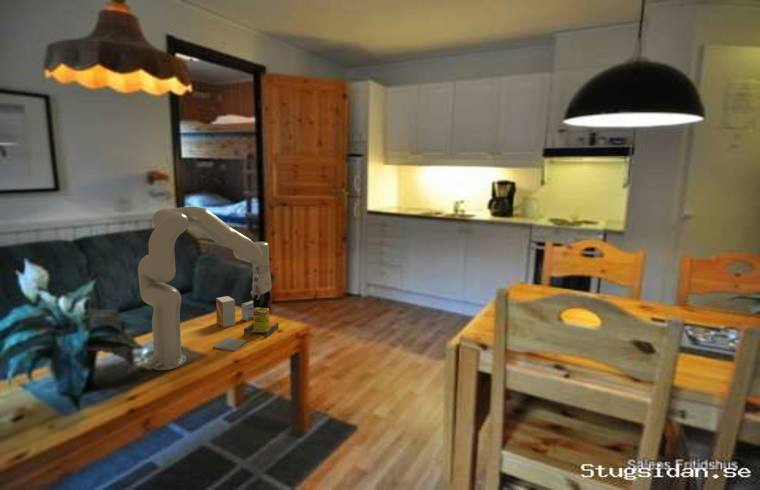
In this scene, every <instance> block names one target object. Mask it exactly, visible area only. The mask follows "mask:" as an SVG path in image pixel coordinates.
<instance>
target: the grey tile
mask: <svg viewBox="0 0 760 490" xmlns="http://www.w3.org/2000/svg"><path fill="white" fill-rule="evenodd" d="M247 342H248V341H247V340H246V339H245V340H244V339H239V338H231V337H225V338H224V339H222V340H221V341H220V342H218V343H216V344H214V345H213V346H212V348H213V349H215V350H221V351H229V352H236V351H237V350H238V349H239V348H241V347H242V346H244V345H245V344H247Z"/></svg>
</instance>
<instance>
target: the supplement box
mask: <svg viewBox="0 0 760 490" xmlns="http://www.w3.org/2000/svg"><path fill="white" fill-rule="evenodd" d="M252 321H253V322H252V323H254V330H253V334H254V335H255V334H256V335H264V331H265V330H266V329H268V328H269V327H270V308H269V307H259V308H257V309H256V310H255V311H254V312H253V320H252Z"/></svg>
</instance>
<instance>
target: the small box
mask: <svg viewBox="0 0 760 490" xmlns="http://www.w3.org/2000/svg"><path fill="white" fill-rule="evenodd" d="M215 305H216V306H215V307H216V309H215V310H216V312H215V313H216V324H218V325H219V326H221V327H222V328H223V329H224V328H229V327H233V326H236V301H235V299H234V298H232V297H230V296H228V295H226V296H221V297H216V298H215Z"/></svg>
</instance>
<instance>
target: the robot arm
mask: <svg viewBox="0 0 760 490" xmlns="http://www.w3.org/2000/svg"><path fill="white" fill-rule="evenodd" d="M151 220H152V224H153V226H154V227H155V228H154V230H153V231H152V233H151V235H150V237H149V239H148V254H147V255H145V256H144V257H142V258H141V259H140V261H139V263H138V267H137V273H138V275H137V276H138V287H139V293H140V295H139V296H140V298H141V300H142V301H143V302H144V303H146V304H147V305H149V306H151V307H153V311H152V312H153V313H152V318H151V326H152V342H153V356H152V357H151V358H152V359H151V360H150V361H149V362H147V363H146V364H145V365H144V367H145V368H146V369H153V370H155V371H168V370H174V369H177V368H179V367H181V366H183V365H184V364H186V362H187V357H186V355H184V354H182V339H181V338H182V336H181V335H182V334H181V323H180V322H181V321H180V320H181V317H180V313H181V304H182V295H181V293H180V291H179V290H178V289H177V288H176V287H174V286H172V285H170V284H169V282H171V281H172V280H173V279H174V278H175V276H176V272H177V271H176V257H175V243H176V241H177V239H178V237H179V236H180V235H181V234H182V233H184V232H185V231H186V230H188V228H196V229H197V230H199V231H200V232H202V233H203V234H204V235H206V236H207V237H209V238H210V239H211V240H213V241H214V242H215V243H217V244H218V245H220V246H223V247H224V248H227V249H230V250H233V251H232V254H233V256H234V257H235V258H236V259H237V260H240V261H243V262H247V263H250V264H252V283H251V285H252V286H251V287H252V290H251V291H250V295H251V298H252V300H253V307H258V308H261V299H260V296H261V295H263V300H264V301H266V302H267V301H268V302H270V301H271V292H272V287H273V286H272V283H273V282H272V276H271V271H270V247H269V246H270V245H269V243H268V242H266V241H255V242H254V241H252V239H250V238H249V237H247V236H245V235H244V234H242V233H241V232H239V231H237V230H236V229H234V228H233V227H231V226H229V224H227V223H226V222H225V221H223V220H222V219H221V218H220V217H219V216H217V215H216V214H214V213H213V212H212V211H211V210H210V209H208V208H205V207H201V206H200V207H199V206H193V205H192V206H183V207H182V206H181V207H173V208H172V207H171V208H162V209H159V210H157V211H156V212H155V213H154V214H153V215H152V219H151ZM167 283H168V284H167Z"/></svg>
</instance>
